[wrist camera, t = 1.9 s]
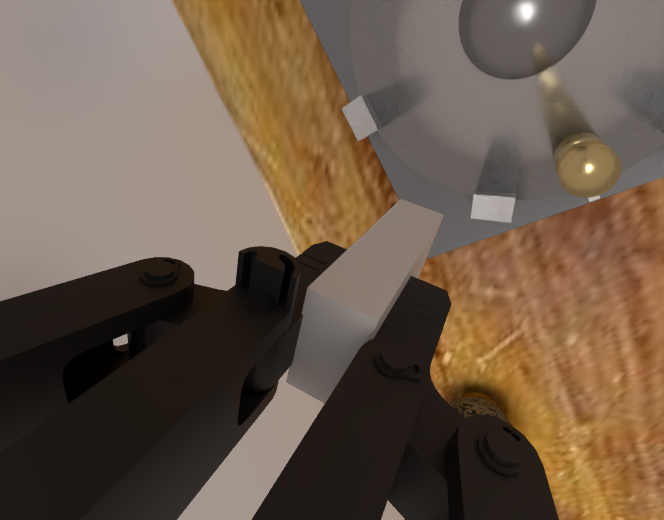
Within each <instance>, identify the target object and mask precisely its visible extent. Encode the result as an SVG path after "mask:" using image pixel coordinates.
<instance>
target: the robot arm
mask: <svg viewBox="0 0 664 520" xmlns="http://www.w3.org/2000/svg"><path fill="white" fill-rule="evenodd" d="M443 216H444V215H443V214H441V213H438V212H435V211H433V210H430V209H427V208H425V207H422V206H419V205H417V204H414V203H411V202H408V201H406V200H403V199H400V200H399V201H398V202H397V203H396V204H395V205H394V206H393V207H392V208H391V209H390V210H389V211H388V212H386V213H385V214H384V215H383V216H382V217H381V218H380V219H379V220H378V221H377V222H376V223H375V224H374V225H373V226H372V227H371V228H370V229H369V230H368V231H366V232H365V233H364V234H363V235H362V236H361V237H360V238H359V239H358V240H357V241H356V242H355V243H354V244H353V245H352V246H351V247H350V248H349V249H344V248H342V247H340V246H337V245H335V244H333V243H330V242H328V241H326V242H322V243H318V244H314V245H312V246H310V247H309V248H308V249H307V250H305V251H304V252H303V253H302V254H300V255H299V256H298V257H296V258H295V257H293V256H292V255H290V254H289V253H287V252H285V251H282V250H279V249H276V248H272V247H263V246H259V247H249V248H246V249H244V250H241V251H239V257H238V266H237V276H236V285H235V286H234V287H232V288H231V289H229V290H228V291H224V290H218V289H214V288H210V287H206V286H201V285H197V284H194V271H193V270H192V268H191V267H190V266H189V265H188V264H186V263H184V262H182V261H181V260H177V259H172V258H167V257H166V258H165V257H154V258H148V259H143V260H139V261H136V262H133V263H129V264H126V265H122V266H119V267H115V268H112V269H109V270H106V271H102V272H99V273H95V274H92V275H88V276H85V277H81V278H78V279H75V280H72V281H68V282H65V283H61V284H58V285H54V286H51V287H48V288H44V289H41V290H38V291H34V292H31V293H27V294H24V295H20V296H17V297H14V298H10V299H7V300H3V301H0V520H177V519H178V517H179V516H180V515H181V514H182V512H183V511H184V510H185V509H186V507H187V506H188V505H189V503H190V502H191V501H192V500H193V498H194V497H195V496H196V495H197V493H198V492H199V491H200V490H201V488H202V487H203V486H204V485H205V483H206V482H207V481H208V480H209V478H210V477H211V476H212V474H213V473H214V472H215V471H216V470H217V468H218V467H219V466H220V464H221V463H222V462H223V461H224V459H225V458H226V457H227V456H228V454H229V453H230V452H231V451H232V449H233V448H234V447H235V446H236V444H237V443H238V442H239V441H240V439H241V438H242V437H243V435H244V434H245V433H246V432H247V430H248V429H249V428H250V427H251V425H252V424H253V423H254V422H255V420H256V419H257V418H258V417H259V415H260V414H261V413H262V411H263V410H264V409H265V408H266V406H267V405H268V404H269V402H270V401H271V400H272V399H273V396H274V395H275V393H276V390H277V386H278V381H279V379H280V377H281V376H282V375H283V374H284V373H285V372H286V370H287V369H288V368H289V372H288V377H287V381H286V382H288V383H289V384H291V385H293V386H294V387H296V388H298V389H300V390H302V391H303V392H305V393H307V394H309V395H311V396H312V397H314V398H316V399H318V400H320V401H321V402H323V403H325V404H324V406H323V408H322V409H321V411H320V412H319V414H318V415H317V417H316V419H315V420H314V422H313V423H312V425H311V426H310V428H309V430H308V431H307V433H306V435H305V436H304V438H303V439H302V441H301V442H300V444H299V446H298V447H297V449H296V450H295V452H294V453H293V455H292V457H291V458H290V460H289V461H288V463H287V464H286V466H285V468H284V470H283V471H282V473H281V474H280V476H279V477H278V479H277V481H276V482H275V483H274V485H273V487H272V488H271V490H270V491H269V493H268V495H267V496H266V498H265V499H264V501H263V502H262V504H261V506H260V507H259V509H258V510H257V512H256V514H255V515H254V517H253V518H252V520H381V518H382V514H383V511H384V509H385V506H386V503H387V500H388V501H389V502H390V503H391V504H392V505H393V506H394V507H395V508H396V509H397V511H398V512H399V513H400V514H401V515H402V516H403V517H404V518H405V520H559V519H558V515H557V512H556V508H555V505H554V501H553V498H552V494H551V491H550V488H549V484H548V481H547V477H546V474H545V470H544V467H543V464H542V462H541V460H540V458H539V456H538V454H537V451H536V449H535V448H534V447H533V446H532V445H531V443H530V442H529V441H528V440H527V439H526V437H525V436H524V435H523V434H522V433H520V432H519V431H518V430H517V429H515V428H514V427H513V426H512V425H510V424H509V423H507V422H505V421H503V420H501V419H499V418H496V417H494V416H490V415H484V414H475V415H472V416H468V417H466V418H465V417H463V416H462V415H461V414H460V413H458V412H457V411H456V410H455V409H454V408H452V407H451V406H450V405H449V404H448V403H447V402H446V401H445V400H444V399H443V398H442V397H441V396H440V394H439V393H438V391H437V390H436V389H435V387H434V385H433V382H432V380H431V376H430V365H431V362H432V359H433V356H434V353H435V350H436V347H437V344H438V341H439V338H440V336H441V333H442V330H443V326H444V324H445V321H446V318H447V315H448V312H449V310H450V307H451V301H450V298H449V295H448V292H447V291H446V290H444V289H441V288H439V287H437V286H434V285H432V284H429V283H427V282H425V281H422V280H420V279H418V278H419V276H420V273H421V271H422V268H423V266H424V263H425V261H426V258H427V256H428V253H429V251H430V248H431V246H432V244H433V241H434V239H435V236H436V234H437V231H438V229H439V226H440V224H441V221H442V219H443ZM125 334H128V343H127V344H124V345H120V346H115V345H113V339H115V338H117V337H120V336H122V335H125Z"/></svg>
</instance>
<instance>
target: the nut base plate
mask: <svg viewBox="0 0 664 520" xmlns="http://www.w3.org/2000/svg"><path fill="white" fill-rule="evenodd" d="M300 2H301V4H302V6H303V8H304V10H305V12H306V14H307V16H308V18H309V20H310V22H311V24H312V26H313V28H314V30H315V32H316V34H317V36H318V38H319V40H320V42H321V44H322V46H323V48H324V50H325V52H326V54H327V56H328V58H329V60H330V62H331V64H332V66H333V68H334V70H335V72H336V74H337V76H338V78H339V80H340V82H341V84H342V86H343V88H344V90H345V92H346V94H347V96H348V98H349V100H350V102H352V101H353V100H355V99H356V98H358V97H359V96H360V93H359V89H358V86H357V82H356V79H355V74H354V68H353V63H352V57H351V44H350V16H351V3H352V0H300ZM368 138H369V140H370V142H371V144H372V146H373V148H374V150H375V152H376V154H377V156H378V158H379V160H380V162H381V164H382V166H383V168H384V170H385V172H386V174H387V176H388V178H389V180H390V182H391V184H392V186H393V188H394V190H395V192H396V194H397V196H398V198H399V200H400V199H403V200H406V201H408V202H411V203H414V204H417V205H419V206H422V207H425V208H427V209H430V210H433V211H435V212H438V213H441V214H443V215H444V216H443V219H442V221H441V224H440V226H439V229H438V231H437V234H436V236H435V239H434V241H433V244H432V246H431V248H430V251H429V253H428V258H431V257H434V256H437V255H440V254H443V253H446V252H448V251H451V250H454V249H457V248H460V247H463V246H466V245H469V244H472V243H474V242H477V241H480V240H483V239H486V238H489V237H492V236H495V235H497V234H500V233H503V232H506V231H509V230H512V229H515V228H518V227H521V226H523V225H526V224H529V223H532V222H535V221H538V220H541V219H544V218H547V217H549V216H552V215H555V214H558V213H561V212H564V211H567V210H570V209H573V208H575V207H578V206H581V205H584V204H587V203H590V202H593V201H596V200H599V199H601V198H604V197H607V196H610V195H613V194H616V193H619V192H622V191H624V190H627V189H630V188H633V187H636V186H639V185H642V184H645V183H648V182H650V181H653V180H656V179H659V178H662V177H664V146H662V147H661V148H659V149H658V150H656V151H655V152H654V153H652V154H651V155H649V156H648V157H646V158H645V159H643V160H642V161H640V162H638V163H636V164H634V165H633V166H631V167H629V168H627V169H625V170H624V171H622V172H621V174H620V177H619V179H618V181H617V182H616V184H615V185H614V186H613V187H612V188H611V189H609V190H608V191H607V192H605V193H603V194H601V195H598V196H595V197H589V198H582V197H577V196H574V195H571V194H570V193H564V194H559V195H554V196H549V197H544V198H536V199H524V200H515V203H514V209H513V214H512V220H511V223H508V222H499V221H490V220H481V219H472V218H471V211H472V203H473V196H470V195H467V194H463V193H460V192H456V191H453V190H451V189H448V188H446V187H443V186H441V185H439V184H436V183H434V182H433V181H431V180H429V179H428V178H426V177H424V176H422V175H421V174H419V173H418V172H416V171H415V170H414V169H412V168H411V167H410V166H409V165H407V164H406V163H405V162H404V161H402V159H401V158H400V157H399V156H398V155H397V154H396V153H395V152H394V151H393V150H392V149H391V148H390V147H389V146H388V144H387V143H386V142H385V141H384V139H383V138H382V137H381V135H380V134H379V133H378V131H377V132H375V133H373V134H372V135H370V136H368Z"/></svg>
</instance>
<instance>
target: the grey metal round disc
mask: <svg viewBox="0 0 664 520" xmlns="http://www.w3.org/2000/svg"><path fill="white" fill-rule="evenodd" d="M350 44H351V57H352V63H353V68H354V74H355V79H356V82H357V86H358V89H359V93H360V96H359V97H358V98H356V99H355V100H353V101H352V102H350V103H349V104H347V105H346V106H344V107H343V108H341V109H342V111H343V113H344V115H345V116H346V118H347V120H348V122H349V124H350V126H351V128H352V130H353V132H354V134H355V136H356V138H357V140H358V141H361V140H363V139H365V138H367V137H368V136H370V135H372V134H373V133H375V132H377V131H378V133H379V134H380V135H381V137H382V138H383V139H384V141H385V142H386V143H387V144H388V146H389V147H390V148H391V149H392V150H393V151H394V152H395V153H396V154H397V155H398V156H399V157H400V158H401V159H402V161H404V162H405V163H406V164H407V165H409V166H410V167H411V168H412V169H414V170H415V171H416V172H418V173H419V174H421V175H422V176H424V177H426V178H428V179H429V180H431V181H433V182H434V183H436V184H439V185H441V186H443V187H446V188H448V189H451V190H453V191H456V192H460V193H463V194H467V195H470V196H473V203H472V211H471V218H472V219H481V220H490V221H499V222H508V223H511V220H512V214H513V209H514V203H515V200H524V199H536V198H544V197H549V196H554V195H559V194H564V193H570V194H571V195H574V196H577V197H582V198H589V197H595V196H598V195H601V194H603V193H605V192H607V191H608V190H609V189H611V188H612V187H613V186H614V185H615V184H616V182H617V181H618V179H619V177H620V174H621V172H622V171H624V170H625V169H627V168H629V167H631V166H633V165H634V164H636V163H638V162H640V161H642V160H643V159H645V158H646V157H648V156H649V155H651V154H652V153H654V152H655V151H656V150H658V149H659V148H661V147H662V146H664V0H352V3H351V16H350Z"/></svg>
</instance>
